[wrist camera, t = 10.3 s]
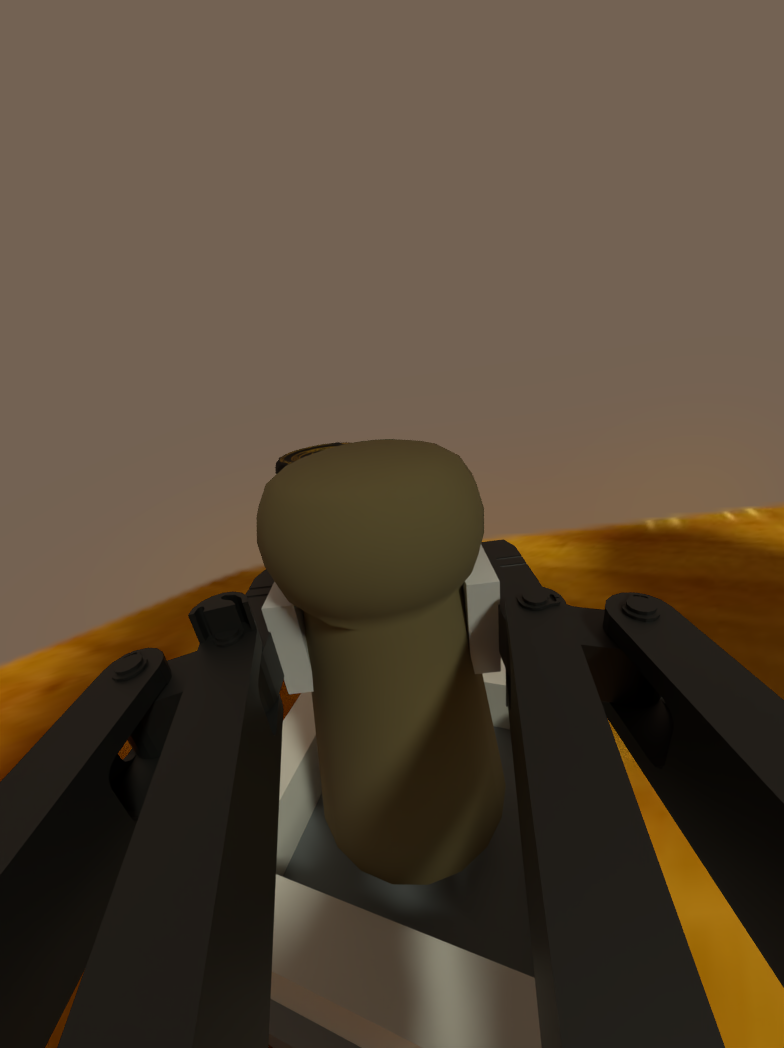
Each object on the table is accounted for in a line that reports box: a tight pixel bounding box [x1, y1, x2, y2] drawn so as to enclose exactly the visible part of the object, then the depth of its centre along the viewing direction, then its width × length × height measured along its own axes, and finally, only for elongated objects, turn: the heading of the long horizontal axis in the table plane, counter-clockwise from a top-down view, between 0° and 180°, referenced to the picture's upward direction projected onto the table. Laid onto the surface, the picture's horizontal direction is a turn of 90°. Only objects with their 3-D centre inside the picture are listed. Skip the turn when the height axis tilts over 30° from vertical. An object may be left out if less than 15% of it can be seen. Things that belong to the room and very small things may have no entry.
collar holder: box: [268, 658, 542, 1048], centre depth 14 cm, size 12×12×4 cm
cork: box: [257, 439, 506, 885], centre depth 11 cm, size 6×6×11 cm
